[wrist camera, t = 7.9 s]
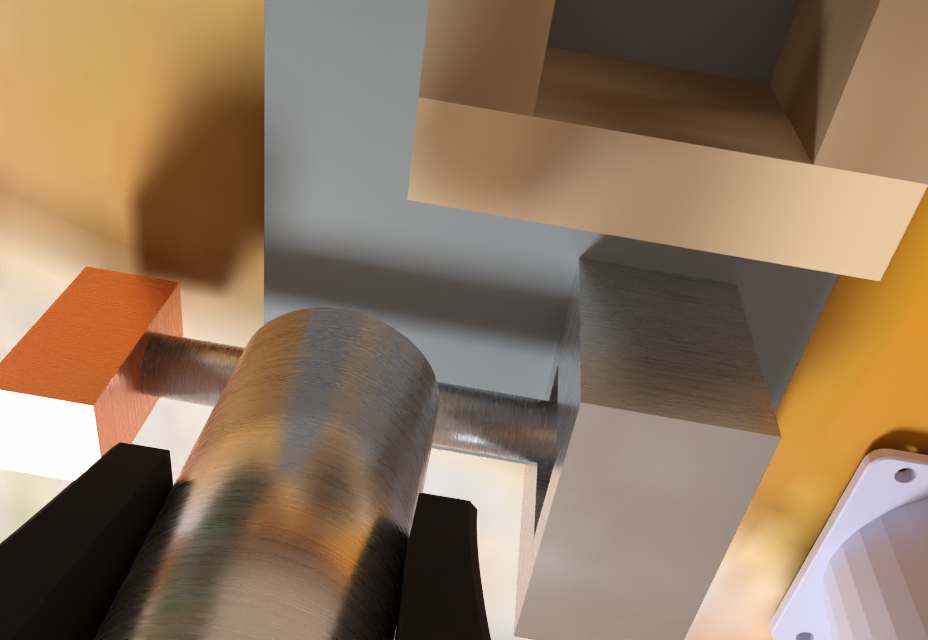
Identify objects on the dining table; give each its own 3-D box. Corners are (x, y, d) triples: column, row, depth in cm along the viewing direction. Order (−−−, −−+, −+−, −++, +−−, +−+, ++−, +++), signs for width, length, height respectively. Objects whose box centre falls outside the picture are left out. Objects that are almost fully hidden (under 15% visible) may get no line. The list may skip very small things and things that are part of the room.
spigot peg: (450, 327, 12) (336, 893, 6) (428, 477, 14) (323, 1027, 8) (237, 291, 12) (-75, 822, 6) (242, 447, 14) (4, 973, 8)
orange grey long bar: (621, 359, 20) (632, 500, 16) (599, 428, 21) (605, 573, 18) (86, 266, 20) (-21, 386, 16) (96, 341, 21) (-1, 467, 18)
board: (1087, -329, 13) (1122, -332, 12) (728, 473, 23) (734, 500, 22) (284, -464, 13) (265, -476, 12) (275, 394, 23) (264, 418, 22)
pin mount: (737, 284, 19) (781, 437, 15) (654, 498, 23) (672, 663, 19) (579, 257, 19) (580, 402, 15) (524, 475, 23) (513, 635, 19)
